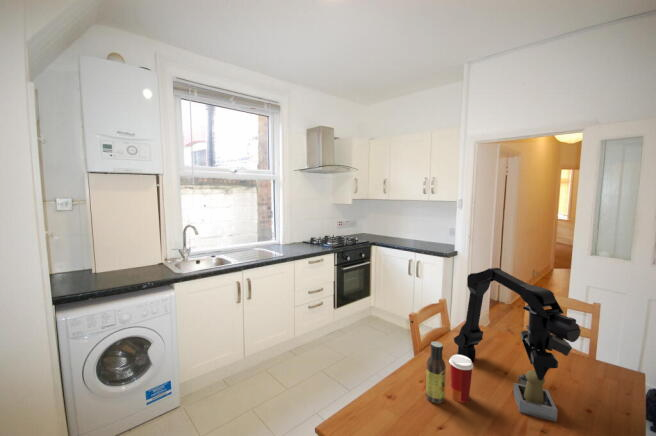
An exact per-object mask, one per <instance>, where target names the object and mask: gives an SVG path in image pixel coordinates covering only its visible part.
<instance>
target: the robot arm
mask: <svg viewBox="0 0 656 436" xmlns="http://www.w3.org/2000/svg"><path fill="white" fill-rule="evenodd" d="M466 279H467V280H466V281H467V283H466V286H467V288H468V290H469V299H468V304H467V310H466V311H467V312H466V316H465V317H466V318H465V322H464V324H463V325H462V326H461V327H460V331H459V333H458V335H456V336H455V337H453V341H454V344H455V345H457V352H456V355H463V356H466V357H468V358H469V359H471V361H472V364H474V363H475V359H476V347H475V346H478V345H479V343H481V341H483V335H484V331H483V330H482V329H481V328H480V326H479V324H480V318H481V314H482V305H483V299H484V295H485V293H486V292H487V291H488V290H489V288H490V286H491V283H492V282H496V283H498V284H500V285H501V286H504V287H505V288H507V289H509V290H510V291H512V292H514V293H515V294H517V295H519V296H520V297H521V299H522V300H523V302H524V303H526V306H525V305H524V306H523V307H522V309H523V310H525V311H527V312H529V313H528V325H526V330H524V329H523V330H522V331H521V332H520V339H521V342H522V345H523V347H524V349H525V350H524V351H525V352H526V354H527V356H528V357H527V358H528V360H529V364H530V365H532V367H533V369H534V371H535V372H536V375H537V378H538V380H541V381H542V380H543V378H544V379H545V377H546V375H547V372H548V371H549V369H558V368H559V360H558V359H557V357H556V356H555V355H554V354H553V353H552V352H553V351H556V352H558V353H560V354H562V355H563V356H566V357H568V356H569V354H570V352H571V351H572V349H573V347H572V345H571V344H570V343H574V342H576V341H577V340H578V339H579V338H580V335H581V327H580V325H579V324H578V323H577V319H576V318H573V317H570V316H565V315H563V314H564V311H563V309H562V307H561V306H560V304H559V302H558V300H557V299H556V296H555V294H554V292H553V291H551V290H550V289H548V288H544V287H541V286H538V285H533V284H530V283H527V282H524V281H523V280H521V279H519V278H518V277H516V276H513V275H512V274H510V273H508V272H506V271H503V270H502V268H500V267H491V268H487V269H485V270H483V271H479V272H472V273H470V274H468V275H467V278H466ZM549 307H550V308H549ZM545 308H547V309H545ZM548 351H549V352H548ZM550 351H551V352H550Z"/></svg>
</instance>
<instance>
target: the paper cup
mask: <svg viewBox="0 0 656 436" xmlns="http://www.w3.org/2000/svg"><path fill="white" fill-rule="evenodd" d="M448 363H449V364H450V365H449V366H450V391H451V393H450V394H451V397H452V400H454V401H456V402H458V403H461V404H465V403H468V402H469V401H470V400H469V399H470V392H471V383H472V374H473V368H474V367H475V365H474V363H473V362H472V361H471V359H469V358H468V357H466V356H463V355H457V354H454V355H451V357H450V358H449V360H448Z"/></svg>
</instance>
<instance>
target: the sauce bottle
mask: <svg viewBox="0 0 656 436" xmlns="http://www.w3.org/2000/svg"><path fill="white" fill-rule="evenodd" d="M430 349H431V350H430V356H429V358H428V359H427V361H426V374H425V375H426V376H425V377H426V378H425V380H426V381H425V383H426V384H425V396H426V398H427V400H428V401H429V402H431V403H433V404H434V403H435V404H441V403H443V402H444V401H445V397H446V396H445V395H446V374H447V373H446V371H447V370H446V369H447V368H446V367H447V366H446V362H445V360H444V359H443V350H444V345H443V343H441V342H440V341H431V342H430Z"/></svg>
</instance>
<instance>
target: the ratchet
mask: <svg viewBox="0 0 656 436" xmlns="http://www.w3.org/2000/svg"><path fill="white" fill-rule="evenodd" d="M517 379H518V381H519V382H518V383H517V382H513V391H512V392H513V396H514V400H515V402H516V405H517V409H518V412H519V414H524V415H527V416H531V417H535V418H539V419H544V420H548V421H550V422H554V423H555V422H556V423H558V422H557V421H558V411H559V410H558V407H556V404H555V402H554V400H553V398H552V396H551V393H550V392H549V390H548V389H544V388H543V397H544V405H542V404H538V403H534V402H529V401H525V400H523V396H524V392H525V388H526V384H527V379H526V374H523V373H522V374H519V376H518V377H517Z"/></svg>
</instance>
